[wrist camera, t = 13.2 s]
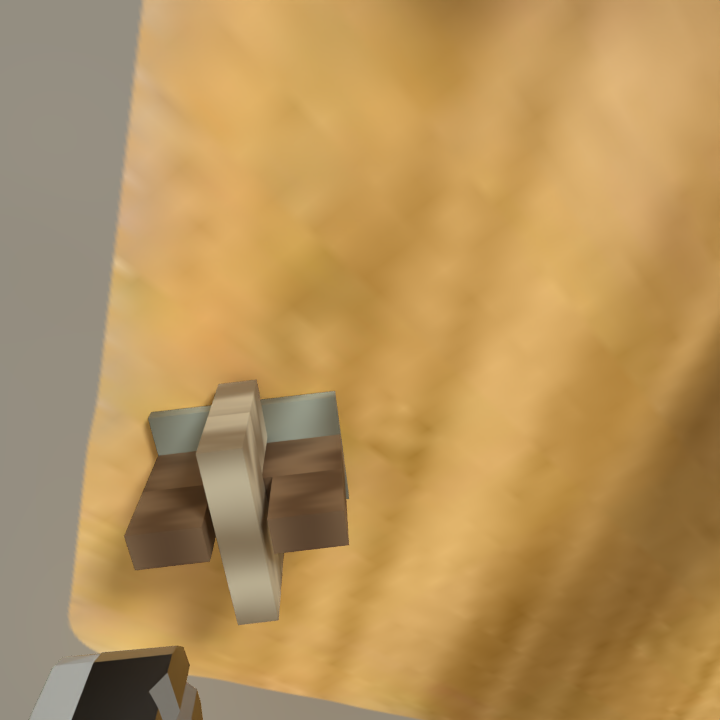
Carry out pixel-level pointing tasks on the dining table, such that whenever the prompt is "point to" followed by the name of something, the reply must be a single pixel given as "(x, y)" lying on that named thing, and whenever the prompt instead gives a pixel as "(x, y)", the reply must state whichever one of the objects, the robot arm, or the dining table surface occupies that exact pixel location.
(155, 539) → the walnut slotted plate
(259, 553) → the maple slotted plate
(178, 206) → the dining table surface
